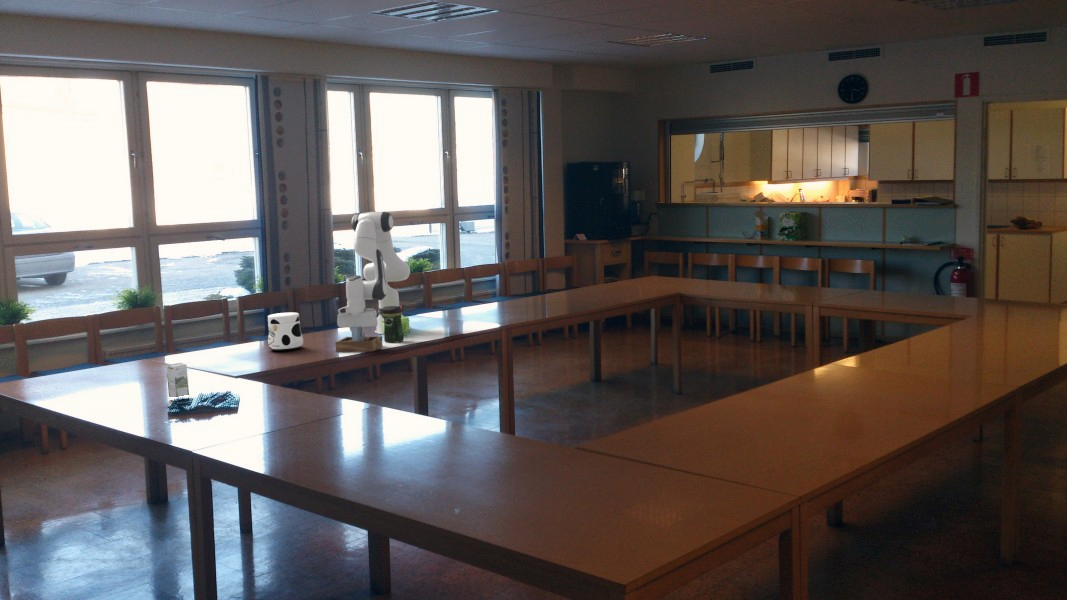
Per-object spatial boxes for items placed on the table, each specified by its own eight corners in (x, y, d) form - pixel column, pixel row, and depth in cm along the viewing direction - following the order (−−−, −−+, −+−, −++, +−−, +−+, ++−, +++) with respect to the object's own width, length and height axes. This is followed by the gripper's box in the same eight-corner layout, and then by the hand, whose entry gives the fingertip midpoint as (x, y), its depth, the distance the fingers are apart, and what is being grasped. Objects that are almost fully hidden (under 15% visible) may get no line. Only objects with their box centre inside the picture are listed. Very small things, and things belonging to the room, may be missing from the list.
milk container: (261, 352, 480) (258, 316, 478) (285, 345, 495) (282, 311, 493) (287, 353, 472) (284, 317, 470) (310, 347, 487) (308, 312, 485)
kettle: (382, 339, 500) (381, 318, 498) (382, 335, 513) (380, 314, 512) (411, 337, 502) (409, 316, 501) (410, 333, 516) (408, 312, 514)
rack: (347, 346, 483) (346, 336, 482) (382, 346, 479) (381, 336, 478) (336, 351, 469) (335, 341, 469) (372, 351, 465) (371, 341, 465)
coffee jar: (406, 340, 493) (403, 305, 490) (397, 343, 486) (395, 307, 483) (390, 339, 497) (388, 304, 495) (381, 342, 490) (379, 306, 488)
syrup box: (182, 397, 384) (178, 362, 382) (190, 399, 380) (186, 363, 378) (169, 400, 379) (165, 364, 377) (177, 402, 375) (173, 366, 374)
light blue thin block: (360, 342, 479) (358, 324, 478) (365, 342, 478) (364, 324, 477) (352, 346, 469) (351, 328, 468) (357, 346, 469) (356, 328, 468)
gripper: (378, 307, 472) (380, 334, 474) (340, 308, 477) (342, 335, 479) (373, 309, 466) (375, 336, 468) (334, 309, 471) (337, 337, 472)
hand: (358, 336), depth 473 cm, fingers closed on light blue thin block, 3 cm apart
